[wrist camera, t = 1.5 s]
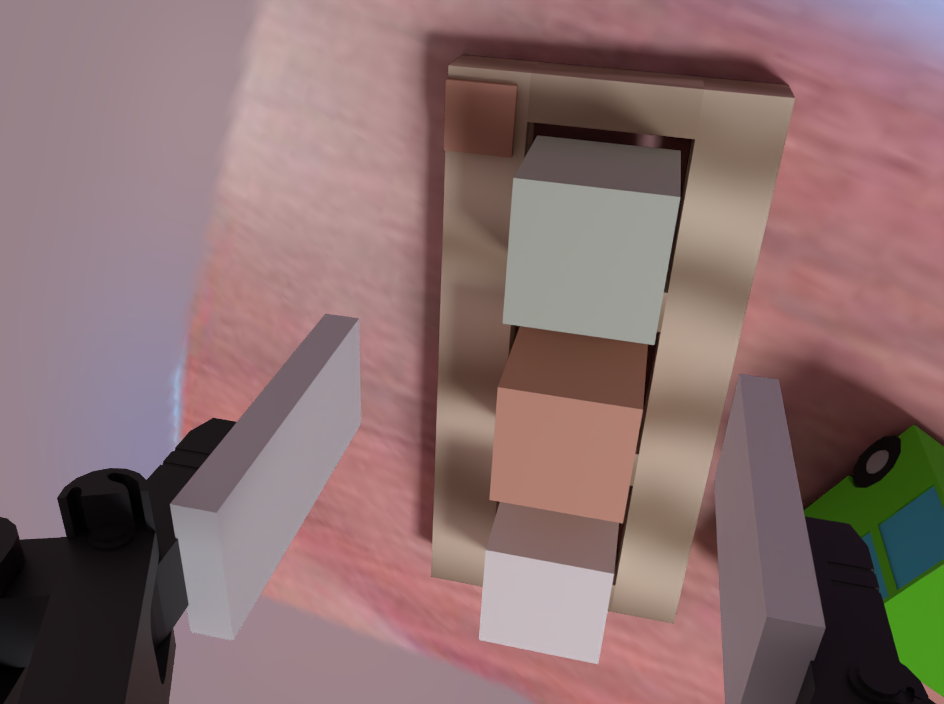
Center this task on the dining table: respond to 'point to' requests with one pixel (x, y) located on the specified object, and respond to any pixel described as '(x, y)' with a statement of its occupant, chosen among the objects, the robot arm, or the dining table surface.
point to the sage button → (591, 238)
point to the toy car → (901, 540)
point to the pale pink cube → (548, 581)
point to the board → (682, 311)
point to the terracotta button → (568, 423)
